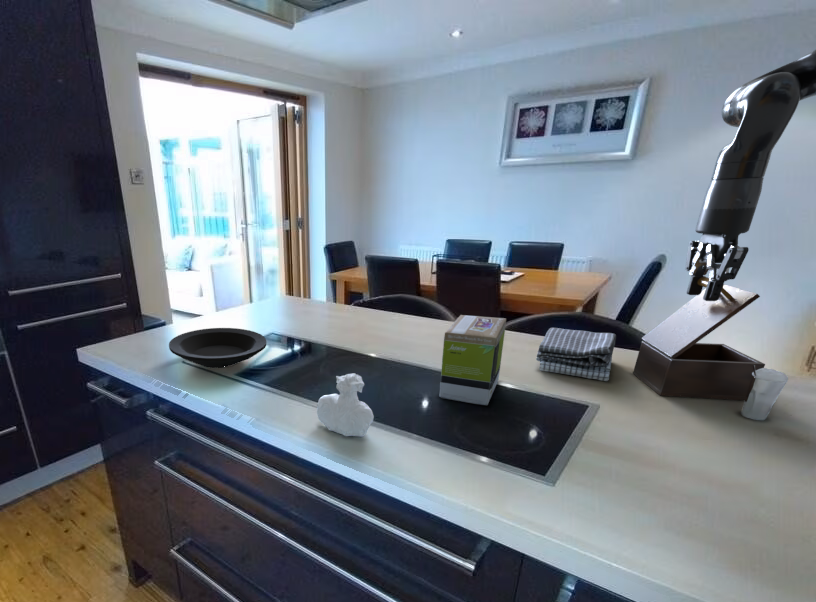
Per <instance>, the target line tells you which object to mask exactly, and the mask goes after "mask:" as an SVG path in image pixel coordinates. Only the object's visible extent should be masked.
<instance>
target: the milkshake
mask: <svg viewBox="0 0 816 602" xmlns="http://www.w3.org/2000/svg"><path fill="white" fill-rule="evenodd" d="M753 371H754V372H752V376H751V380H750V384H749V388H748V391H747V395H746V398H745V400H743V401H744V402H743V405H742V409H741V412H740V414H741V415H742V416H743V417H745V418H747V419H750V420H753V421H754V420H755V421H764V420H766V419H767V418H768V415H769V414H770V413H771V411H772V409H773V407H774V406H775V403H776V401H777V399H778V398H779V396H780V394H781V393H782V391H783V389H784V387H786V385H787V383H788V381H789V377H788V375H787V374H786V373H785V372H782V371H779V370H776V369H774V368H767V367H764V368H761V369H758V370H756V371H755V366H754V365H753Z"/></svg>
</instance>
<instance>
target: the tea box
mask: <svg viewBox="0 0 816 602" xmlns="http://www.w3.org/2000/svg"><path fill="white" fill-rule="evenodd" d="M506 325H507V318H504V317H491V316H480V315H466V314H460V315H459V316H458V317H457V318H456V319H455V321H454V322H453V323H452V324H451V325H450V326H449V327H448V328H447V329H446V331H445V332H444V335H443V345H442V356H441V357H442V358H441V368H440V369H441V370H440V383H439V393H438V394H439V395H438V396H439V397H440V399H446V400H450V401H451V400H452V401H457V402H463V403H469V404H474V405H480V406H488V405H489V402H490V400H491V398H492V396H493V393H494V391H495V389H496V386H497V385H498V382H499V378H500V371H501V365H502V357H503V354H502V353H503V348H504V341H505V333H506Z"/></svg>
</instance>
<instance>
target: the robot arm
mask: <svg viewBox="0 0 816 602" xmlns="http://www.w3.org/2000/svg"><path fill="white" fill-rule="evenodd" d="M815 96H816V49H814V50H813V51H811V52H809V53H807V54H805V55H804V56H802V57H800V58H797V59H795V60H793V61H791V62H789V63H786V64H784V65H782V66H780V67H777V68H775V69H772V70H771V71H769V72H766V73H764V74H762V75H760V76H757V77H756V78H753V79H750V80H749V81H747V82H746V83H744V84H742V85H740V86H738V87H737V88H736V89H735V90H733V92H731V93H730V95H728V97H727V98H726V99H725V101H724V103H723V104H722V108H721V118H722V121H723V122H724V123H725V124H727V125H728V126H730V127H734V128H738V129H737V130H736V133H735V136H734V138H733V139H732V141H730V143H727V144H726V145H725V146H723V147H722V148H721V149H720V150H719V152H718V155H717V158H716V161H715V164H714V167H713V171H712V174H711V180H710V181H709V184H708V187H707V188H706V191H705V194H704V197H703V201H702V203H701V209H700V212H699V215H698V219H697V222H696V226H695V232H696V233H697V234H702V235H701V236H700V238H699V239H698V240H690V241H689V242H688V247H687V254H686V261H685V268H684V271H685V272H688V274H689V276H690V279H689V283H688V286H687V290H686V294H687V295H689V296H697V295H700V294H701V292H702V291H703V289H704V287H703V286H700V285H698V280H699V279H700V278H701V277H707V276H706V275H707V274H708V273H709V274H708V278H709V281H708V283H707V287H705V289H706V290H705V293H704V297H703V300H705V301H717V300H718V299H719V296H720V293H721V290H722V287H723V284H725V282H728V281H730V280H735V279H736V277H737V275H738V273H739V271H740V270H741V267H742V265H743V263H744V261H745V259H746V257H747V255H748V253H749V249H750V248H749V247H748V246H739V236H740V235H741V234H746V233H748V232H749V231H750V228H751V225H752V222H753V219H754V215H755V212H756V209H757V207H758V204H759V200H760V197H761V194H762V190H763V183H764V178H765V175H766V172H767V169H768V166H769V163H770V160H771V156H772V152H773V150H774V148H775V146H776V145H777V144H778V142H779V140H780V139H781V137H782V136H783V134H784V132H785V130H786V129H787V127H788V125H789V123H790V122H791V120H792V118H793V116H794V115H795V112H796V110H797V109H798V106H799V104H800V101H802V100H806V99H808V98H812V97H815ZM730 269H731V270H730Z"/></svg>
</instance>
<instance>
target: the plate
mask: <svg viewBox="0 0 816 602" xmlns="http://www.w3.org/2000/svg"><path fill="white" fill-rule="evenodd" d="M266 347H267V339H266V337H265V336H264V335H262V334H261V333H259V332H257V331H253V330H249V329H244V328H237V327H236V328H235V327H212V328H211V327H210V328H202V329H195V330H190V331H187V332H183V333H181V334H177V336H175V337H173V338H172V339H171V340H170V341H169V342H168V348H169V349H168V350H169V351H170V353H172V354H173V355H175V356H177V357H179V358H182V359H184V360H186V361H188V362H190V363H193V364H196V365H199V366H202V367H205V368H208V369H225V368H229V367H231V366H234V365H237V364H240V363H243V362H244V361H247V360H249V359H251V358H253V357H254V356H257V354H259V353H261V352H262V351H263V350H265V349H266ZM224 366H225V367H224Z"/></svg>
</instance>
